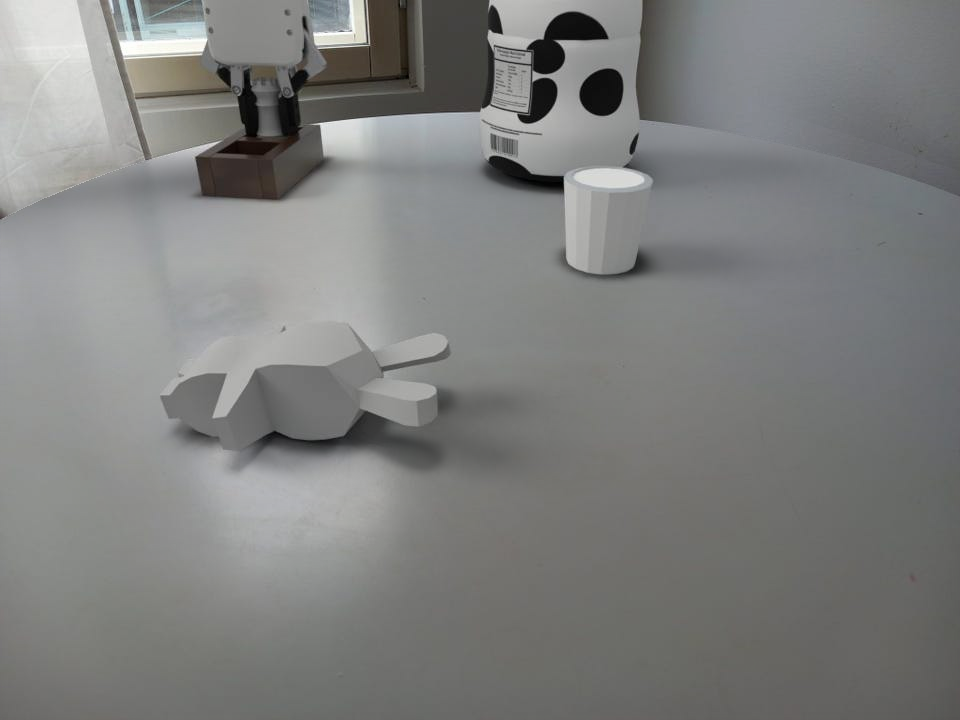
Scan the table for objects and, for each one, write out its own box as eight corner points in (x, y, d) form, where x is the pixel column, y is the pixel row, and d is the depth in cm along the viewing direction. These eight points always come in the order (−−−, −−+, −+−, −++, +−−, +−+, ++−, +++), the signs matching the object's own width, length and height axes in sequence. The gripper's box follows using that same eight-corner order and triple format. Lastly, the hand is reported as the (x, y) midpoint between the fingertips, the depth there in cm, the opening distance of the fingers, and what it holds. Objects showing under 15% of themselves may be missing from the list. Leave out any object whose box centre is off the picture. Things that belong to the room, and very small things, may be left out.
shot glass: (577, 282, 57) (584, 194, 54) (547, 249, 63) (551, 167, 60) (657, 272, 59) (669, 186, 55) (621, 241, 65) (629, 161, 61)
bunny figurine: (200, 311, 44) (447, 293, 42) (224, 383, 47) (459, 369, 45) (122, 399, 36) (424, 382, 34) (157, 480, 39) (439, 468, 37)
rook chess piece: (275, 162, 80) (265, 84, 76) (246, 156, 82) (234, 80, 78) (304, 153, 83) (295, 78, 79) (275, 147, 85) (265, 73, 81)
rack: (202, 196, 75) (194, 156, 73) (258, 156, 87) (253, 122, 85) (277, 199, 74) (272, 159, 72) (324, 159, 86) (320, 124, 84)
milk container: (632, 152, 89) (650, -15, 80) (637, 198, 75) (660, 0, 65) (489, 146, 91) (491, -17, 82) (467, 190, 77) (466, -3, 67)
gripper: (340, -60, 74) (355, 127, 84) (184, -62, 76) (216, 121, 86) (315, -58, 68) (334, 144, 77) (146, -60, 70) (185, 137, 79)
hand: (272, 130), depth 81 cm, fingers closed on rook chess piece, 3 cm apart
